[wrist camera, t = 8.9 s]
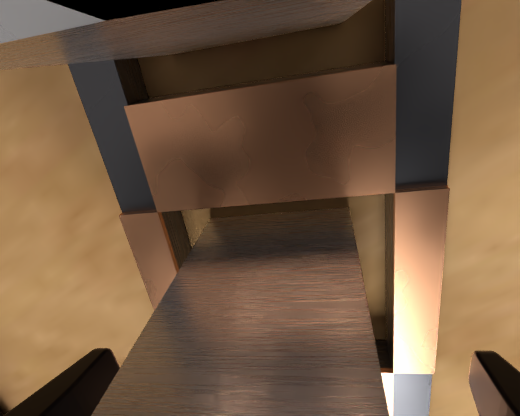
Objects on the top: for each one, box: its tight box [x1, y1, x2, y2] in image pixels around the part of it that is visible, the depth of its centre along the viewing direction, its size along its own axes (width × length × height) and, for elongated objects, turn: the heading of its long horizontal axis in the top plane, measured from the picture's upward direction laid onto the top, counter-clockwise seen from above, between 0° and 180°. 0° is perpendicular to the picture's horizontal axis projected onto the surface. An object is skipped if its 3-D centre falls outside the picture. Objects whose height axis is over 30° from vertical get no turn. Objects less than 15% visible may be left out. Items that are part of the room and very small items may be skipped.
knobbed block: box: [91, 207, 389, 416], centre depth 8 cm, size 4×4×8 cm
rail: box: [68, 0, 461, 416], centre depth 11 cm, size 30×9×1 cm, turn 9°
